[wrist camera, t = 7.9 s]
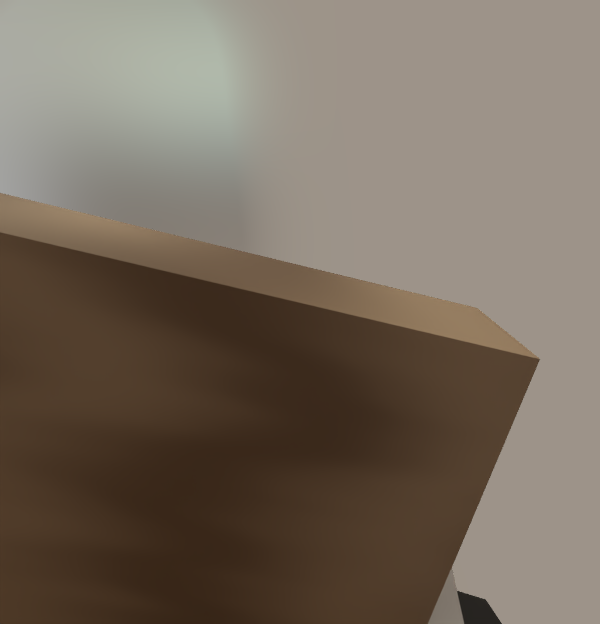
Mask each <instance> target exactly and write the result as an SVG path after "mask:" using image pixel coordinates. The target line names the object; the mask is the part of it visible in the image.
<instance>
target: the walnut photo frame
mask: <svg viewBox="0 0 600 624" xmlns="http://www.w3.org/2000/svg"><path fill="white" fill-rule="evenodd" d="M539 360H540V359H539V358H538V357H537V356H535V355H534V354H533V353H532V352H531V351H529V350H528V349H527V348H526V347H524V346H523V345H522V344H520V343H519V342H518V341H517V340H516V339H514V338H513V337H512V336H511V335H509V334H508V333H507V332H506V331H504V330H503V329H502V328H500V326H498V325H497V324H496V323H495V322H494V321H492V320H491V319H490V318H489V317H487V316H486V315H485V314H483V313H482V312H481V311H480V310H479V309H477V308H474V307H470V306H466V305H462V304H458V303H454V302H450V301H446V300H441V299H437V298H433V297H429V296H425V295H421V294H417V293H412V292H408V291H404V290H400V289H396V288H392V287H387V286H383V285H379V284H375V283H370V282H366V281H362V280H358V279H354V278H350V277H346V276H342V275H338V274H334V273H330V272H325V271H321V270H317V269H313V268H308V267H304V266H301V265H296V264H292V263H288V262H284V261H280V260H276V259H272V258H267V257H263V256H259V255H255V254H251V253H247V252H242V251H238V250H234V249H230V248H226V247H222V246H217V245H213V244H209V243H205V242H201V241H197V240H193V239H189V238H184V237H180V236H176V235H172V234H168V233H163V232H159V231H155V230H151V229H147V228H143V227H139V226H135V225H131V224H126V223H122V222H118V221H113V220H110V219H106V218H102V217H97V216H93V215H89V214H85V213H81V212H77V211H72V210H68V209H64V208H59V207H56V206H51V205H47V204H43V203H39V202H35V201H31V200H27V199H23V198H19V197H14V196H10V195H6V194H2V193H0V624H428V622H429V620H430V617H431V615H432V613H433V610H434V608H435V606H436V603H437V601H438V598H439V596H440V594H441V591H442V589H443V587H444V584H445V582H446V580H447V577H448V575H449V573H450V570H451V568H452V565H453V563H454V561H455V558H456V556H457V554H458V551H459V549H460V547H461V544H462V542H463V539H464V537H465V535H466V532H467V530H468V528H469V525H470V523H471V521H472V518H473V516H474V513H475V511H476V509H477V506H478V504H479V502H480V499H481V497H482V495H483V492H484V489H485V488H486V485H487V483H488V480H489V478H490V476H491V473H492V471H493V468H494V466H495V464H496V462H497V459H498V457H499V455H500V452H501V450H502V447H503V445H504V443H505V440H506V438H507V435H508V433H509V431H510V429H511V426H512V424H513V421H514V419H515V417H516V414H517V412H518V410H519V407H520V405H521V403H522V400H523V398H524V395H525V393H526V391H527V388H528V386H529V384H530V381H531V379H532V377H533V374H534V372H535V370H536V367H537V364H538V362H539Z"/></svg>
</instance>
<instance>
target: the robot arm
mask: <svg viewBox="0 0 600 624" xmlns="http://www.w3.org/2000/svg"><path fill="white" fill-rule="evenodd" d="M428 624H502V623H501V622H500V620H499V619H498V617H497V616H496V614H495V613H494V611H493V610H492V608H491V607H490V605H489V604H488V602H487V601H486V600H485V599H482V598H479V597H475V596H472V595H469V594H465V593H462V592H459V591H457V589H456V585H455V580H454V576H453V571H452V568H451V570H450V573H449V575H448V577H447V580H446V582H445V584H444V587H443V589H442V591H441V594H440V596H439V598H438V601H437V603H436V606H435V608H434V610H433V613H432V615H431V617H430V620H429V622H428Z"/></svg>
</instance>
